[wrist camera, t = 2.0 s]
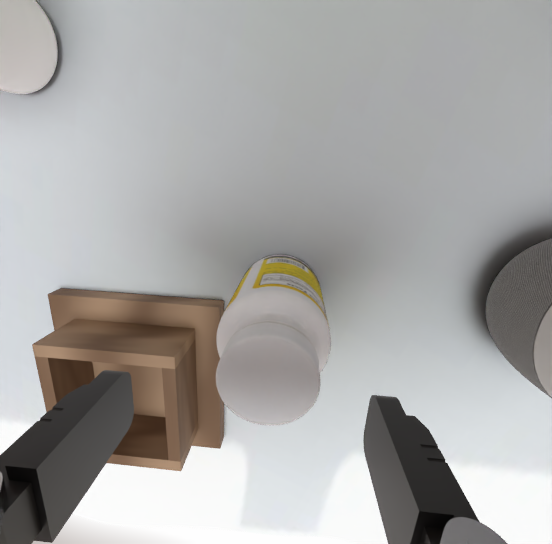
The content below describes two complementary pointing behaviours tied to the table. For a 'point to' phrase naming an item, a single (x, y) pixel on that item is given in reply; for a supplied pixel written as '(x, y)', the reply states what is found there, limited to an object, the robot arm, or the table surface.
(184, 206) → the table surface
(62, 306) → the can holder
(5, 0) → the drinking glass
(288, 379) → the supplement bottle
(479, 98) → the table surface
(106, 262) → the table surface
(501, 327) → the smart speaker
